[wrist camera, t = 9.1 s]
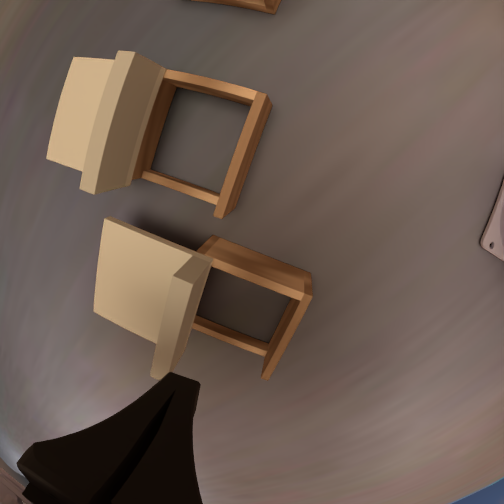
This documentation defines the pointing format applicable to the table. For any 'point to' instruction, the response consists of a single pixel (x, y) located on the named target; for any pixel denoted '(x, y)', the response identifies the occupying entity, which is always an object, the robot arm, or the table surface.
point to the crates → (232, 204)
